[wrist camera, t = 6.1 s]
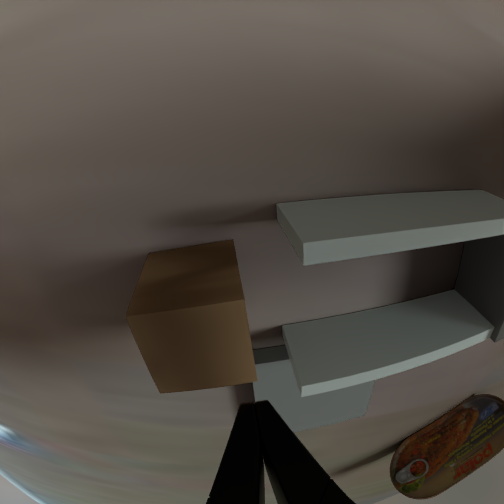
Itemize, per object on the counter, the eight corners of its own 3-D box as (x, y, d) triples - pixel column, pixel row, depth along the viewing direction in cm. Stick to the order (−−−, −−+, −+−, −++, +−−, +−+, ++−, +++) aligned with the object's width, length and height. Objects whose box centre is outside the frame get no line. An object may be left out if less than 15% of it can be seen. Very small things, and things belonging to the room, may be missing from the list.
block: (233, 239, 14) (244, 299, 10) (244, 309, 16) (257, 381, 12) (149, 253, 14) (125, 316, 10) (169, 321, 16) (160, 393, 11)
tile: (377, 326, 18) (385, 338, 17) (359, 403, 21) (364, 415, 20) (248, 350, 17) (250, 365, 16) (257, 425, 21) (260, 437, 20)
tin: (490, 380, 25) (526, 429, 17) (487, 393, 26) (520, 439, 19) (378, 451, 26) (404, 511, 19) (382, 458, 28) (406, 514, 20)
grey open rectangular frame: (482, 189, 15) (541, 218, 10) (461, 296, 18) (504, 337, 13) (276, 203, 14) (307, 249, 9) (282, 336, 17) (303, 405, 13)
